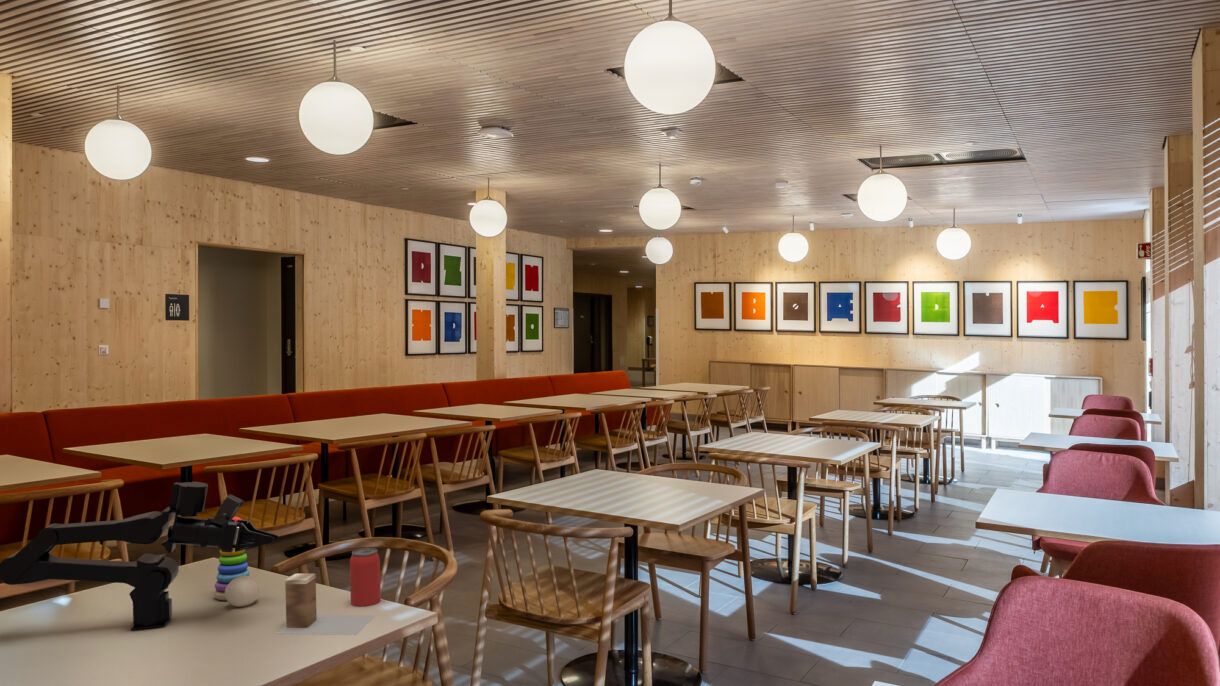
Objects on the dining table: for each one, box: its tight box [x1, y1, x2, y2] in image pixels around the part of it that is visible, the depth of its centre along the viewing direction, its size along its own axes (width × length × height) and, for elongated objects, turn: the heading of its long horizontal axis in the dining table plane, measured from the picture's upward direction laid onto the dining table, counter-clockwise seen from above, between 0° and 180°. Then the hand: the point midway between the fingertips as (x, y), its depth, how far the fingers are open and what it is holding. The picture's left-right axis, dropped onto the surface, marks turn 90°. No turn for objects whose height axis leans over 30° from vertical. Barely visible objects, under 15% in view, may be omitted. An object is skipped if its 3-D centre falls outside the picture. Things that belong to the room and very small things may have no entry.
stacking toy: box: [213, 515, 250, 601], centre depth 191 cm, size 8×8×19 cm
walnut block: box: [284, 573, 318, 628], centre depth 171 cm, size 4×4×10 cm
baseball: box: [225, 575, 260, 608], centre depth 184 cm, size 7×7×7 cm
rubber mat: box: [275, 614, 376, 636], centre depth 170 cm, size 17×11×1 cm, turn 86°
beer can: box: [349, 547, 382, 608], centre depth 184 cm, size 7×7×12 cm
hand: (276, 538), depth 179 cm, fingers open, 9 cm apart
